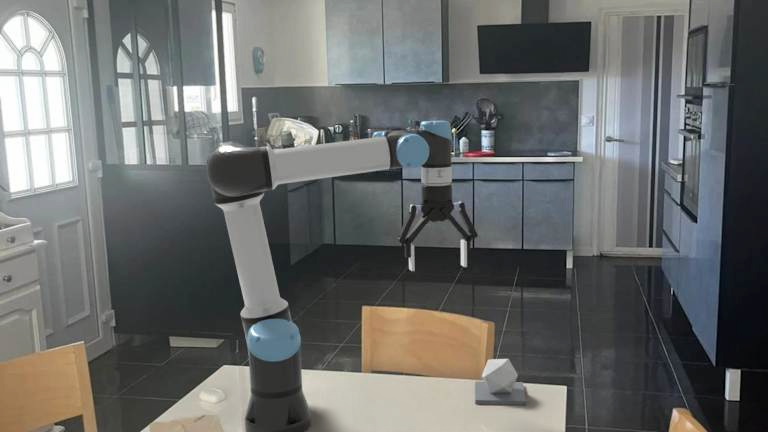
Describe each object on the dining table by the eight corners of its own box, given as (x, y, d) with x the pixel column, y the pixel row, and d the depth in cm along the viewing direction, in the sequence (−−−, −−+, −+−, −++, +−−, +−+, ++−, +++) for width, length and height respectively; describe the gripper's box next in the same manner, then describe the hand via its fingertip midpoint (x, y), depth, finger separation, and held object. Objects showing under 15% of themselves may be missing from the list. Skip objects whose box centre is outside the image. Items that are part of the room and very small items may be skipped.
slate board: (475, 403, 188) (475, 399, 188) (475, 385, 200) (475, 381, 200) (525, 404, 187) (525, 400, 186) (522, 385, 198) (522, 382, 198)
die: (508, 402, 187) (527, 367, 189) (477, 384, 188) (495, 349, 190) (502, 401, 195) (520, 367, 197) (472, 384, 196) (490, 350, 198)
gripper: (390, 188, 186) (393, 275, 190) (489, 182, 191) (490, 267, 195) (383, 184, 193) (386, 268, 197) (479, 179, 199) (480, 261, 202)
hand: (438, 268), depth 196 cm, fingers open, 13 cm apart
